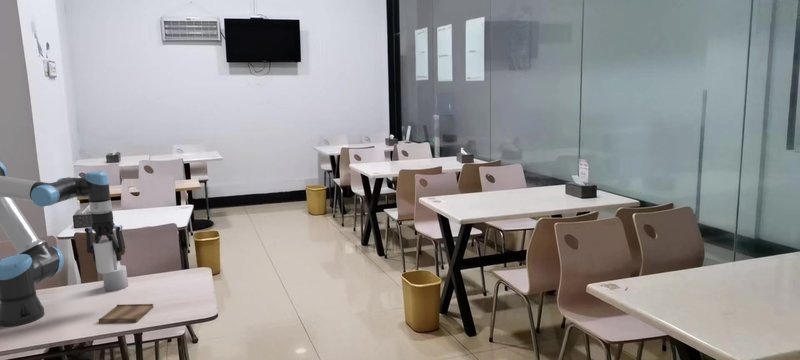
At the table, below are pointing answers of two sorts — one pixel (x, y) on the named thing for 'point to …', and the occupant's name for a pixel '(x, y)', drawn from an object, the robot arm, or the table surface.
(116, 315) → the wooden coaster
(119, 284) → the toilet tissue
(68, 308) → the table surface
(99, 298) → the table surface
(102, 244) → the mug
